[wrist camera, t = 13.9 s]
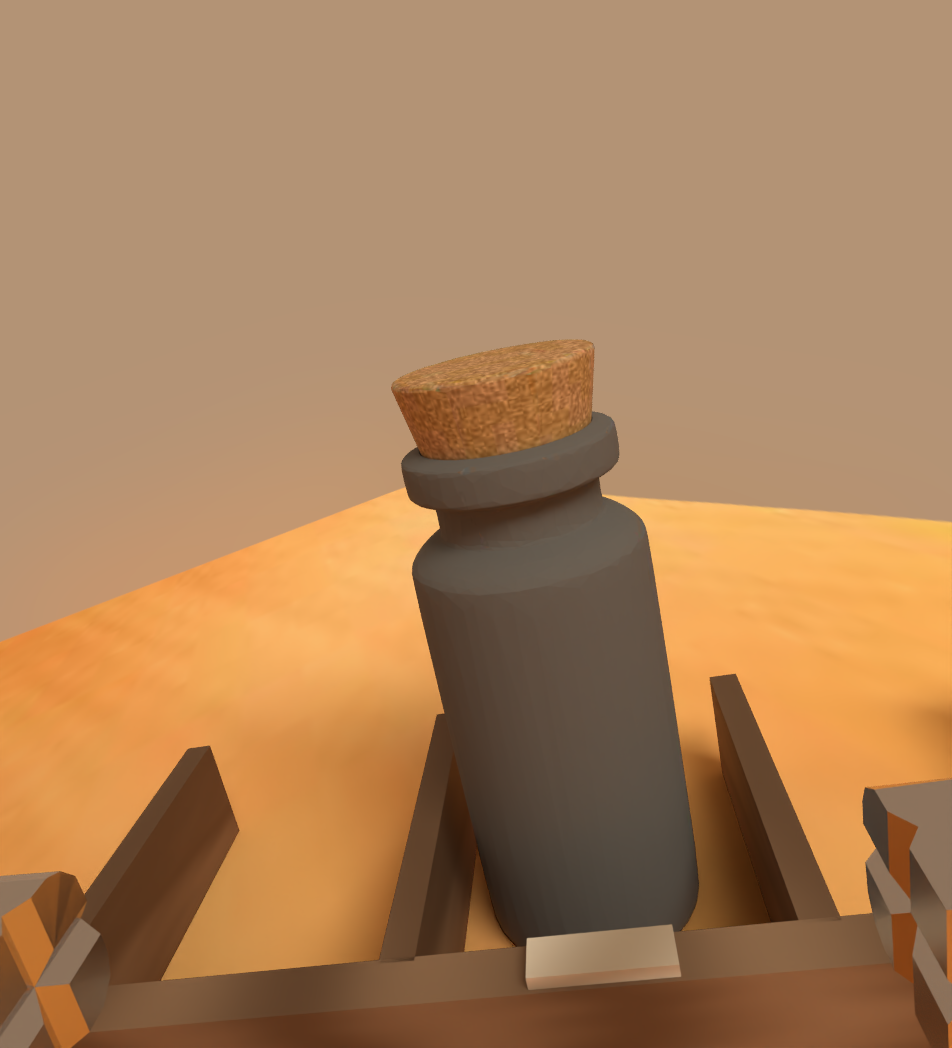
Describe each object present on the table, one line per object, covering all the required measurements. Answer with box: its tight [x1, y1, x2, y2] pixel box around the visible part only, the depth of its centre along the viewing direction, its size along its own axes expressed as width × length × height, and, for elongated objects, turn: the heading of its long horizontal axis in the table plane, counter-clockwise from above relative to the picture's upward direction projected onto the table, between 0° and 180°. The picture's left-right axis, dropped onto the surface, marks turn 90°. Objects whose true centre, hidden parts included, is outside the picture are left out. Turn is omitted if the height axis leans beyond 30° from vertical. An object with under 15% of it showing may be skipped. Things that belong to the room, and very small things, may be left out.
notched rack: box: [71, 674, 931, 1048], centre depth 22 cm, size 27×11×4 cm, turn 86°
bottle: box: [391, 340, 699, 947], centre depth 21 cm, size 6×6×15 cm
